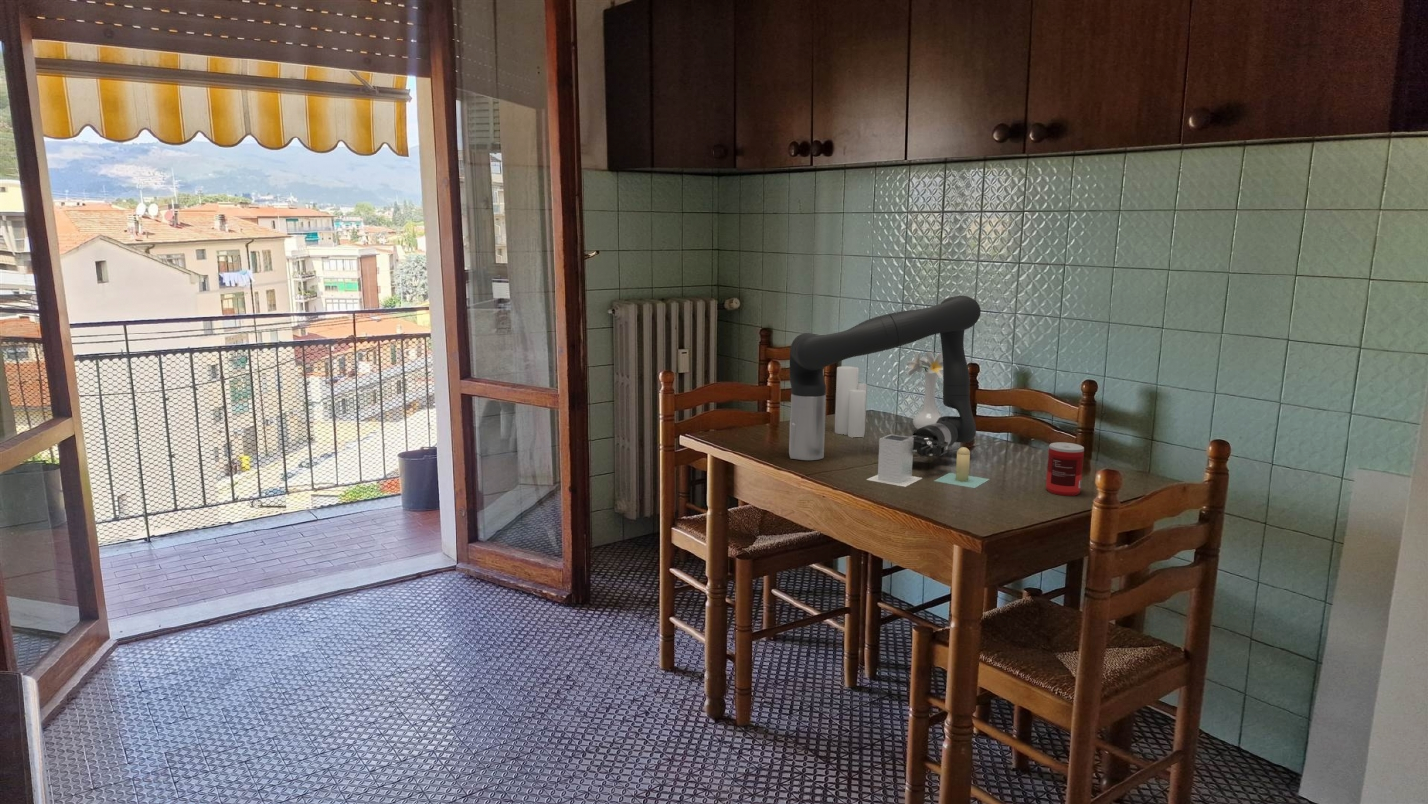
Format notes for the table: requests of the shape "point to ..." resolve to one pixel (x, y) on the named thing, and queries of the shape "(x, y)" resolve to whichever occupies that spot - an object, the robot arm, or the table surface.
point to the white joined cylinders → (850, 403)
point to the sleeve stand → (904, 484)
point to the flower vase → (927, 387)
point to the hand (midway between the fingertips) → (905, 450)
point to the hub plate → (967, 484)
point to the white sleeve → (895, 458)
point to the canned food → (1064, 468)
